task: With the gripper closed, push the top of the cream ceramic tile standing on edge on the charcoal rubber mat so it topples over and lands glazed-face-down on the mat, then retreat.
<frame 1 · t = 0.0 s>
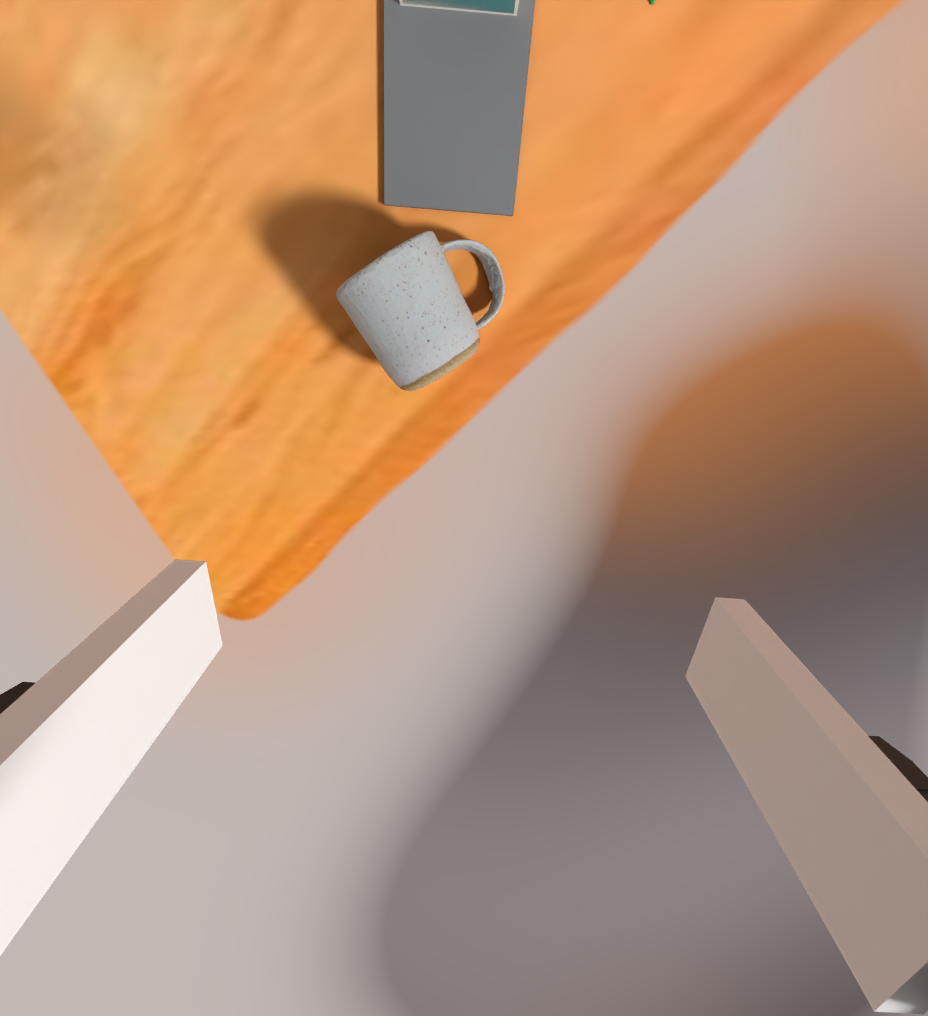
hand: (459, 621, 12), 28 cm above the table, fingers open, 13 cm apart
ceramic mug: (432, 302, 34), on the table
mat: (455, 80, 29), on the table
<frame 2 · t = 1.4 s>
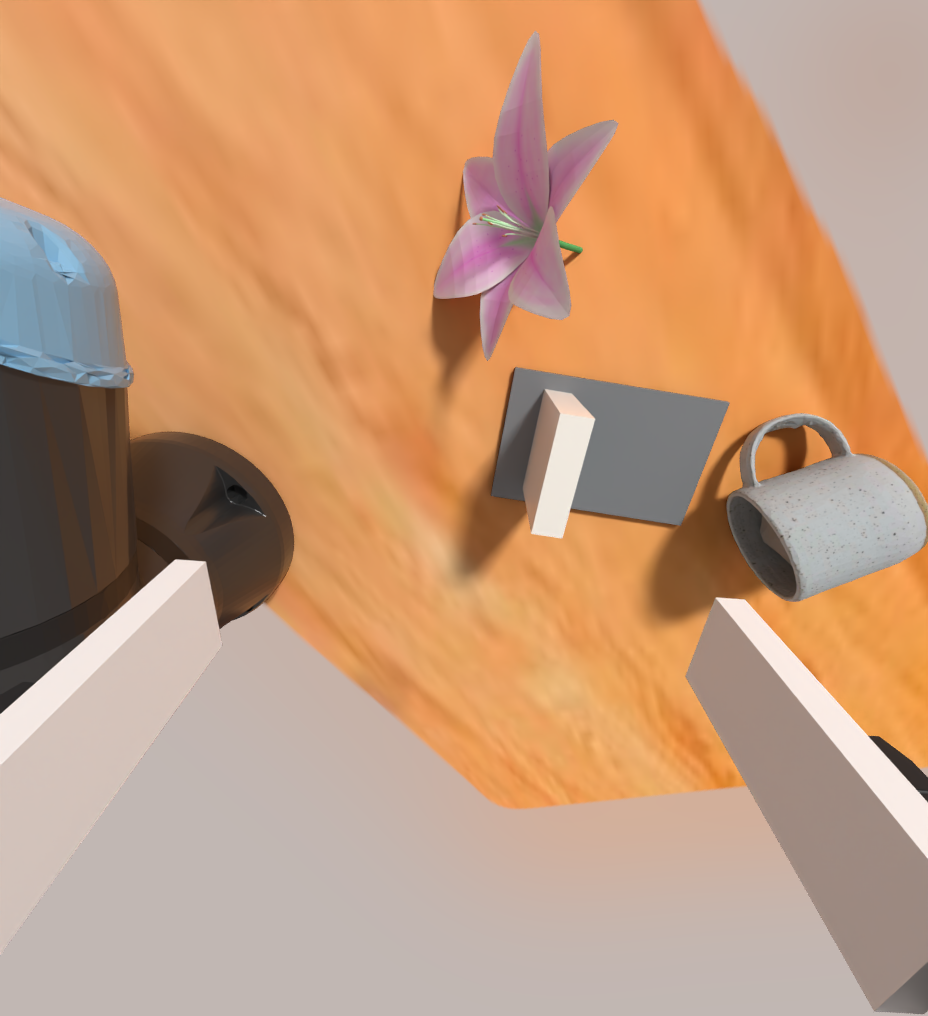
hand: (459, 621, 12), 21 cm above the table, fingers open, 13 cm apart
lily: (509, 237, 26), on the table
ceramic mug: (775, 485, 32), on the table
tile: (545, 442, 31), resting on mat
mat: (602, 450, 31), on the table
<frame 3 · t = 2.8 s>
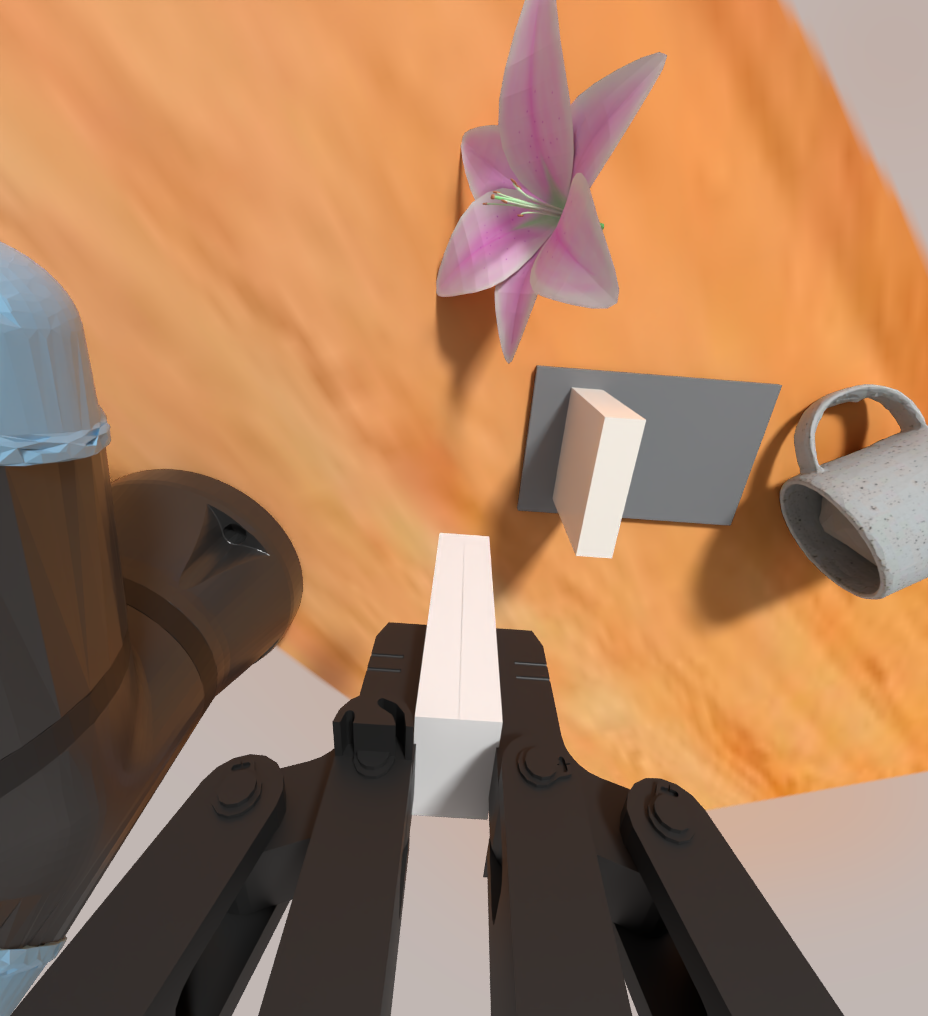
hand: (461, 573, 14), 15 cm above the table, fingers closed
lily: (518, 219, 23), on the table
ceramic mug: (833, 467, 28), on the table
tile: (576, 447, 27), resting on mat
mat: (639, 449, 28), on the table
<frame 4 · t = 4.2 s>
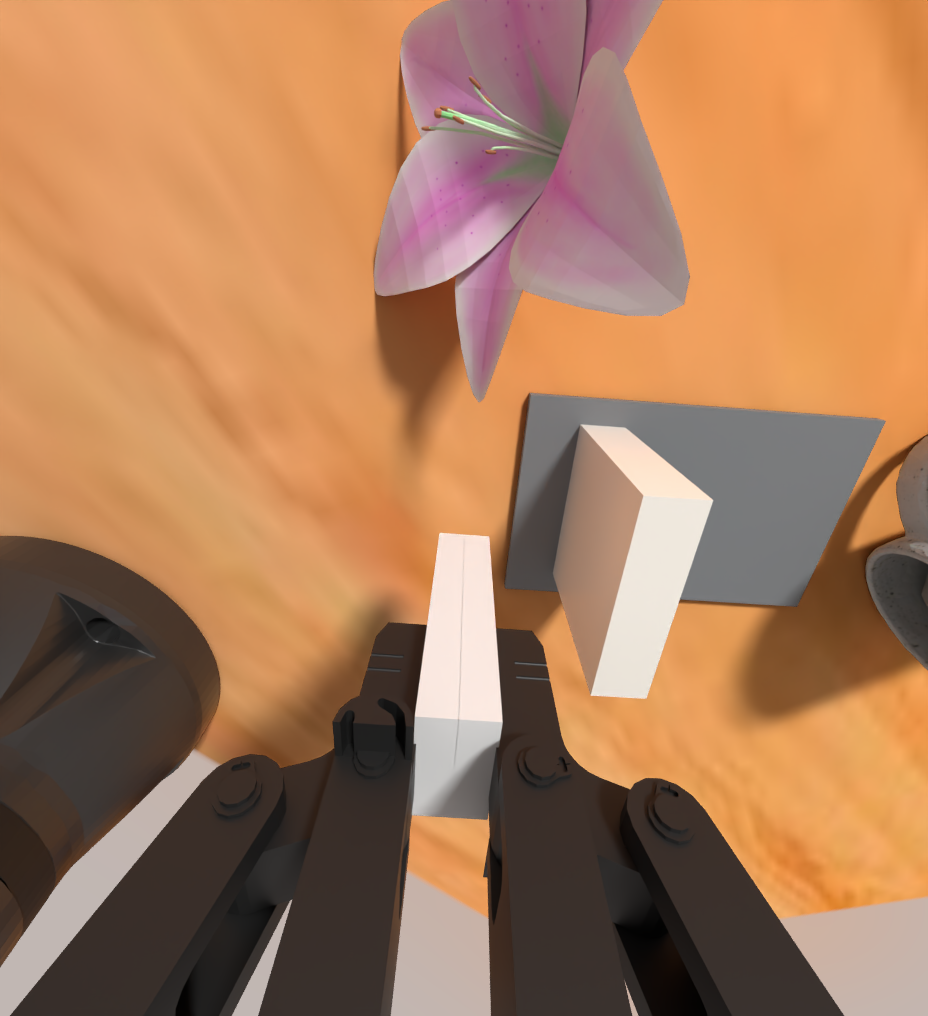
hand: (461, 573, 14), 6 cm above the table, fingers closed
lily: (495, 175, 15), on the table
tile: (586, 506, 19), resting on mat
mat: (674, 508, 20), on the table
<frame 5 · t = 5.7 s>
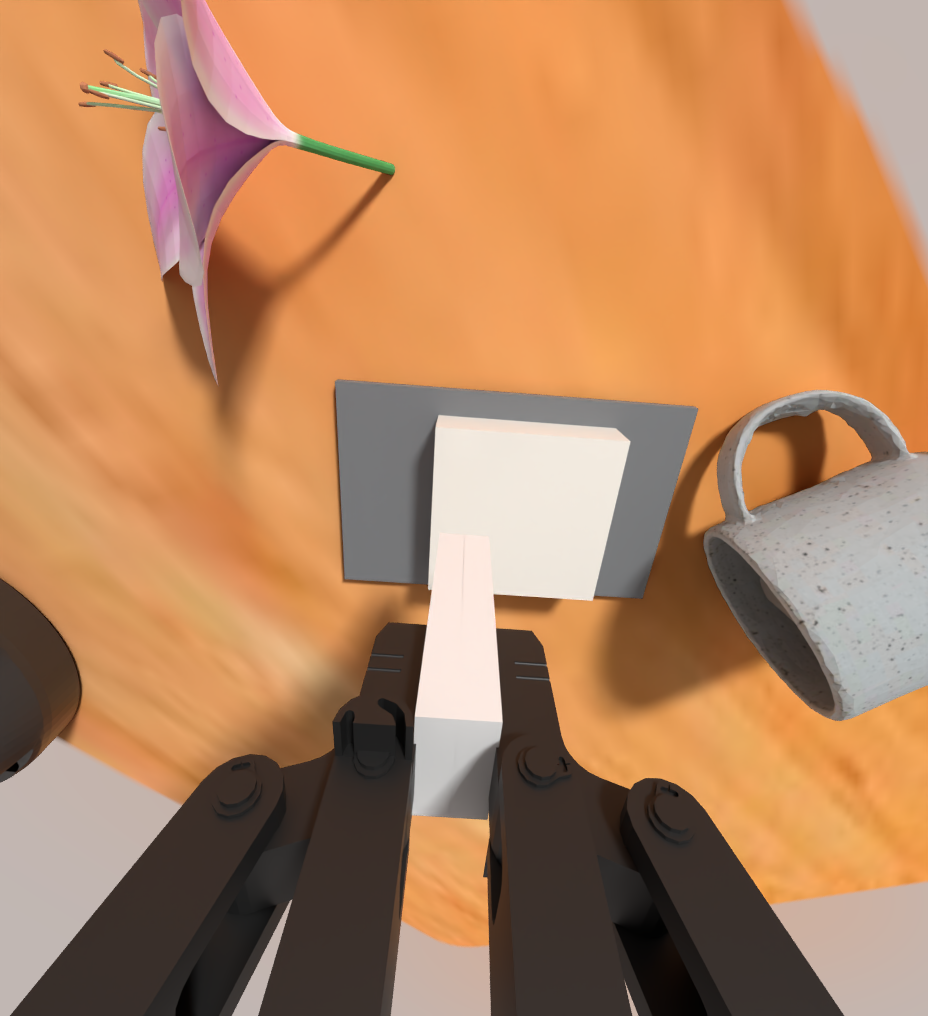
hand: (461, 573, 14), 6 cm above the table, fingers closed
lily: (265, 159, 15), on the table
ceramic mug: (779, 507, 20), on the table
tile: (433, 505, 18), point 1 cm above the table, tilted 90°, touching mat
mat: (504, 497, 19), on the table
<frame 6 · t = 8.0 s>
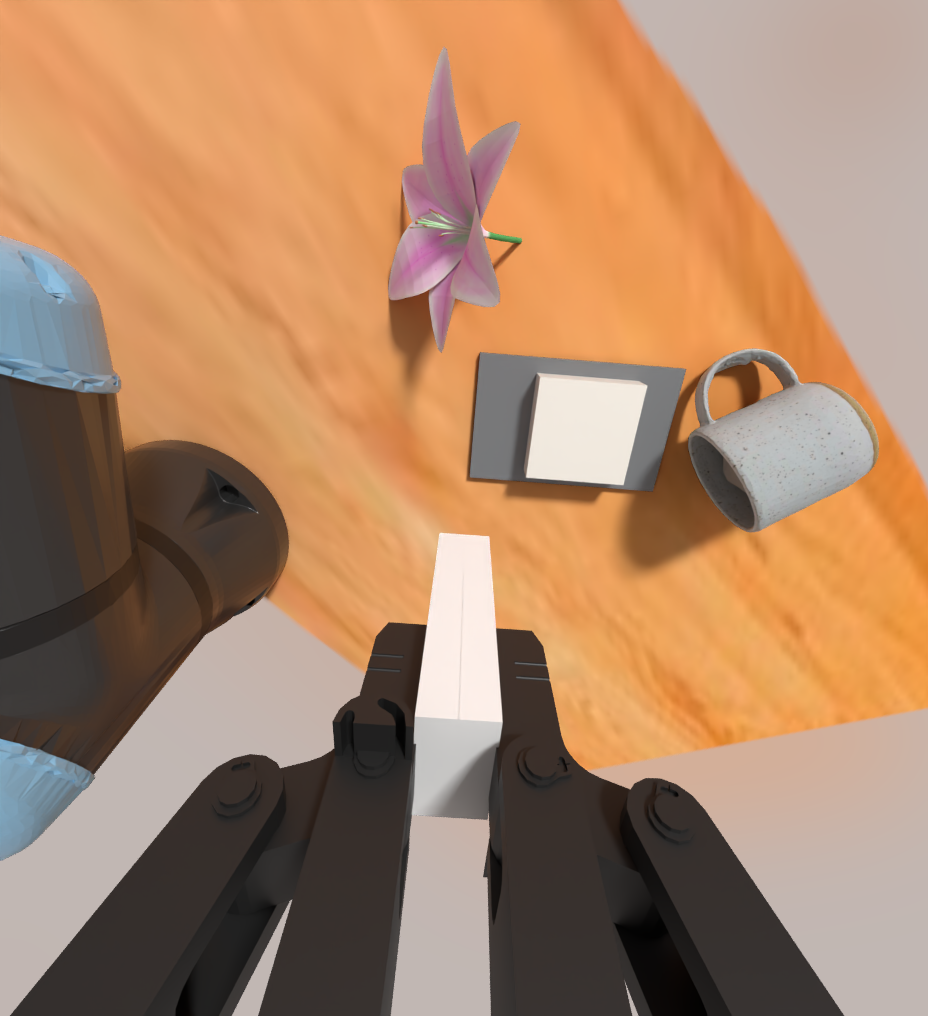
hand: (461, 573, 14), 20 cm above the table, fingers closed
lily: (452, 235, 28), on the table
ceramic mug: (734, 424, 33), on the table
tile: (531, 426, 31), point 1 cm above the table, tilted 90°, touching mat
mat: (570, 425, 33), on the table
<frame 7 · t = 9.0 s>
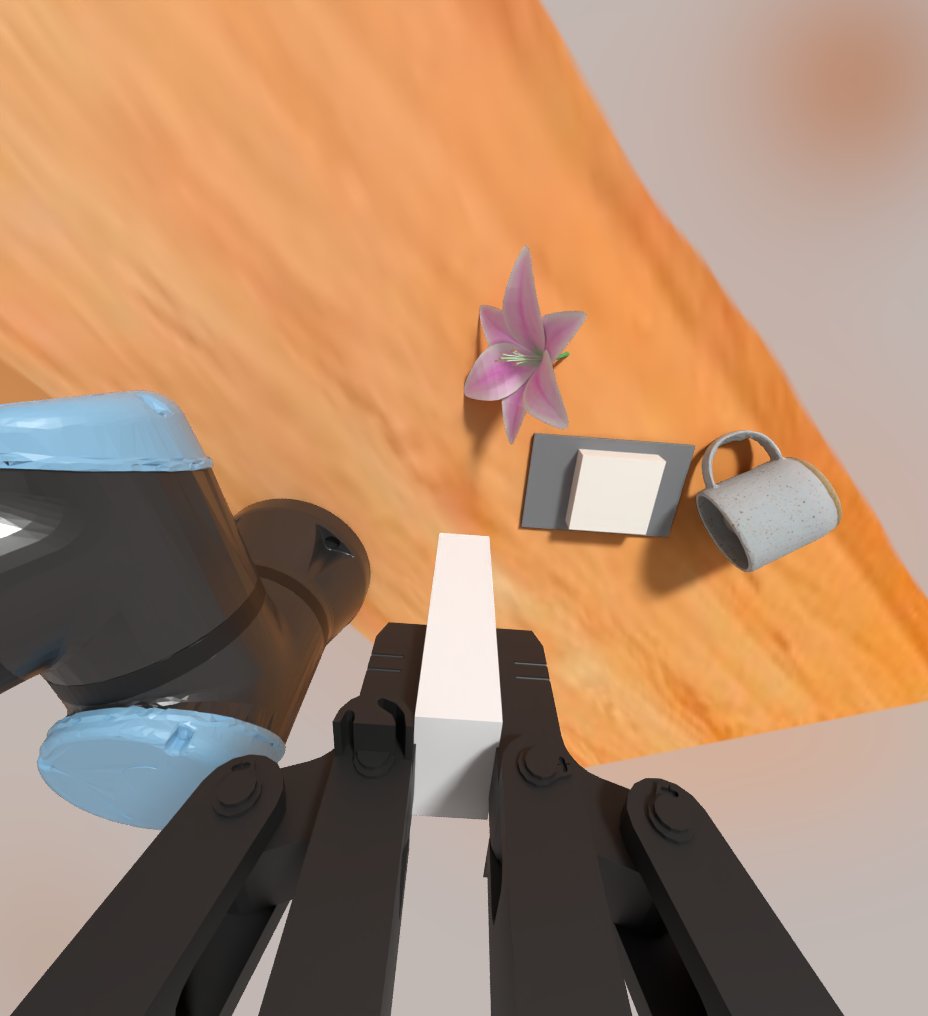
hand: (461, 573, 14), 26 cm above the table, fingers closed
lily: (515, 349, 36), on the table
ceramic mug: (732, 483, 41), on the table
tile: (573, 489, 40), point 1 cm above the table, tilted 90°, touching mat
mat: (603, 486, 41), on the table
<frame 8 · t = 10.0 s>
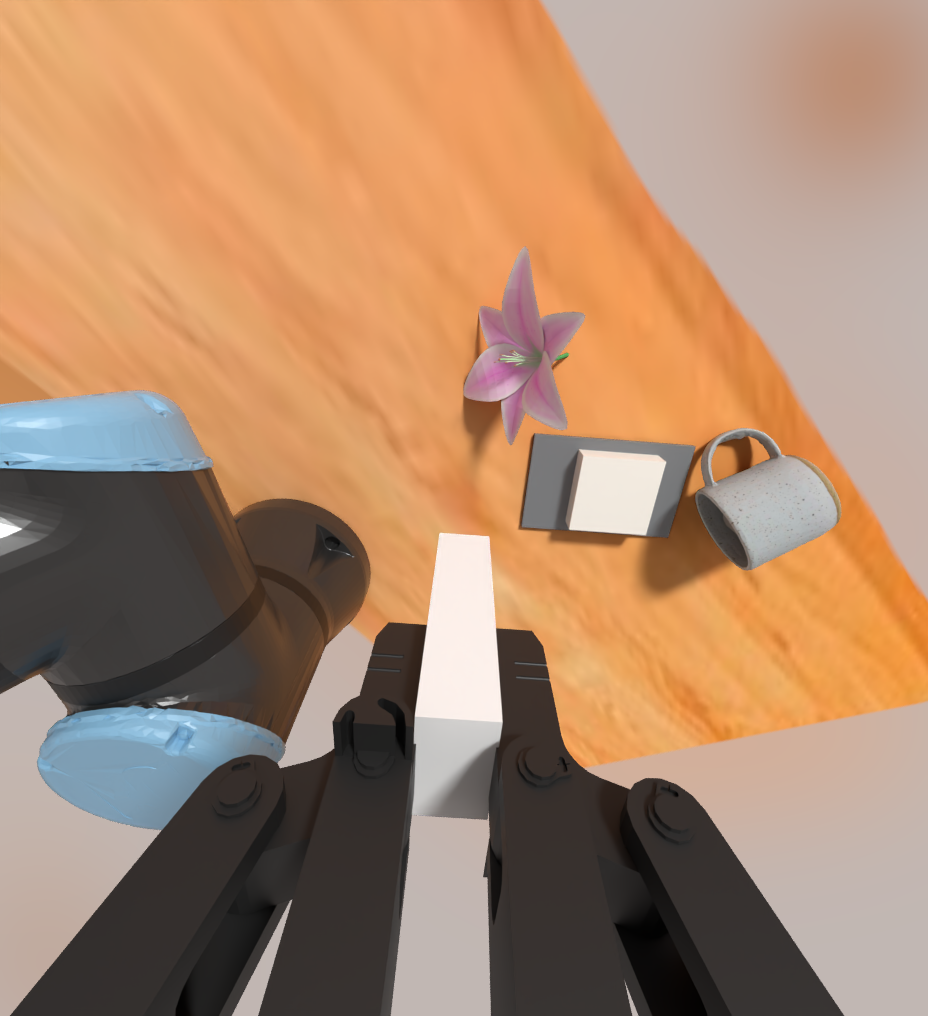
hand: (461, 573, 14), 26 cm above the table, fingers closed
lily: (515, 350, 36), on the table
ceramic mug: (732, 481, 41), on the table
tile: (573, 490, 40), point 1 cm above the table, tilted 90°, touching mat
mat: (603, 487, 41), on the table
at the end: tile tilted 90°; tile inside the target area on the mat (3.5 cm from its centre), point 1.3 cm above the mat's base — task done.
